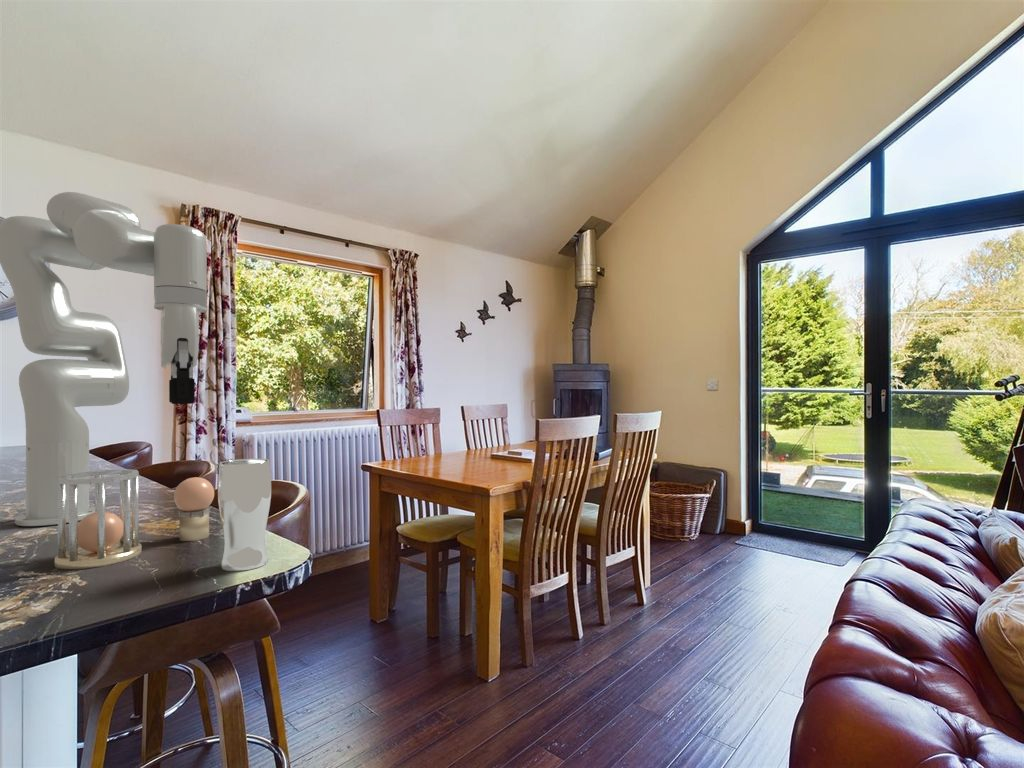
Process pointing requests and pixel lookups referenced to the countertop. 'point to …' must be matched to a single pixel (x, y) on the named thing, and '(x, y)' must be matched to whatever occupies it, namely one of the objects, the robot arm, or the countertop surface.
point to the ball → (89, 531)
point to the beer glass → (244, 512)
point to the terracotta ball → (194, 494)
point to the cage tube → (98, 520)
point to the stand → (194, 525)
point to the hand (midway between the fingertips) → (181, 403)
